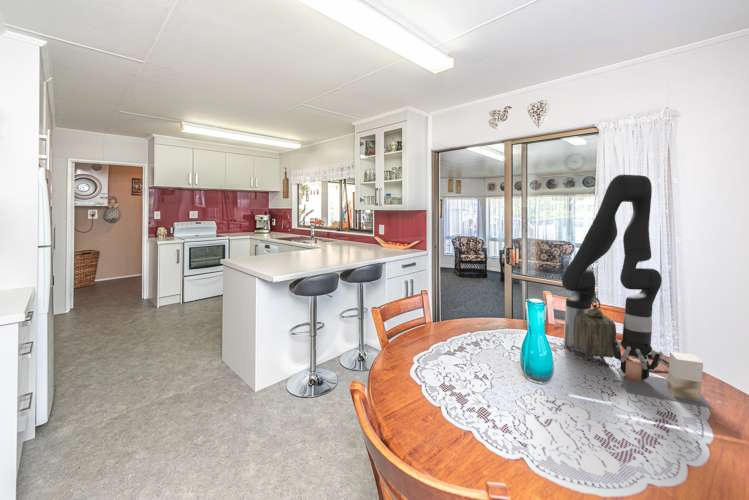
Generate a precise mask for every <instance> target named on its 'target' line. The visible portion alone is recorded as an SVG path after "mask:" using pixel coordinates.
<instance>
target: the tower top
mask: <svg viewBox="0 0 749 500" xmlns="http://www.w3.org/2000/svg"><path fill="white" fill-rule="evenodd" d="M668 362H669V366H668V370H669V371H670V372H671V374H672V375H673V376H674V377H675V378H678V379H684V380H690V381H697V382H701V383H702V382H703V381H702V379H703V370H704V369H703V368H704V362H703V361H702V360H701V359H700V358H699V357H698V356H697V355H695V354H692V353H691V354H690V353H683V352H676V351H669V360H668Z"/></svg>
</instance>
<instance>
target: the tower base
mask: <svg viewBox="0 0 749 500" xmlns="http://www.w3.org/2000/svg"><path fill="white" fill-rule="evenodd" d="M667 370H668V372H667V373H668V374H667V379H668V383H667V388H668V389H669V391H670V392H671V394H672V395H673V397H678V398H683V399H689V400H694V401H700V393H701V392H702V382H697V381H690V380H684V379H678V378H675V377H674V376H673V375H672V374H671V372H670V371H669V369H667ZM701 394H702V393H701Z"/></svg>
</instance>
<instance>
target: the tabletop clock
mask: <svg viewBox="0 0 749 500" xmlns="http://www.w3.org/2000/svg"><path fill="white" fill-rule="evenodd" d="M593 299H594V300H596V302H597V303H598V304H594V300H593ZM591 307H592V308H591V309H590V310H589V311H588V312H587V313H580V314H578V315H576V316H575V319H574V343H575V345H576V346H577V347H578V348H579V349H578V350H579V351H580V352H582V353H583V354H585V355H586V356H584V357H583V360H585V361H589V357H599V358H600V360H601V361H602V362H603V363H604V364H603V366H604V367H605V368H609V367H610V364H609V363H608V362H606V360H605V358H615V357H614V352H613V348H612V342H613V341H615V340H617V326H616V323H615V321H614V320H613V319H611V318H610V317H609V316H607V315H605V314H603V311H602V310H600V309H601V302H600V299H599V298H597V297H596V296H594V297H593V298H592V299H591Z"/></svg>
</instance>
